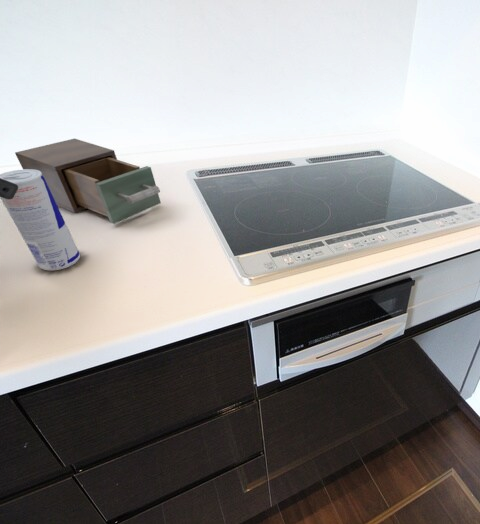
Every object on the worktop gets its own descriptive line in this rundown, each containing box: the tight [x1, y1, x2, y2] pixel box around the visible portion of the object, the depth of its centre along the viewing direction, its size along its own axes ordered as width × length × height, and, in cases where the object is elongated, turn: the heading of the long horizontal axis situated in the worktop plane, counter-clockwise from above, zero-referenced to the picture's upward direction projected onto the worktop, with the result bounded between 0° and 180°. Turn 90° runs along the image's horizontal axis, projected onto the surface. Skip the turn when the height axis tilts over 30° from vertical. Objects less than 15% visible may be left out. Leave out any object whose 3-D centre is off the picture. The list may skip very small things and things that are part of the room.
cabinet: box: [14, 138, 118, 214], centre depth 76 cm, size 14×12×10 cm
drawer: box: [62, 157, 162, 224], centre depth 71 cm, size 17×10×8 cm, turn 62°
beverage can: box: [0, 168, 81, 271], centre depth 55 cm, size 6×6×15 cm
